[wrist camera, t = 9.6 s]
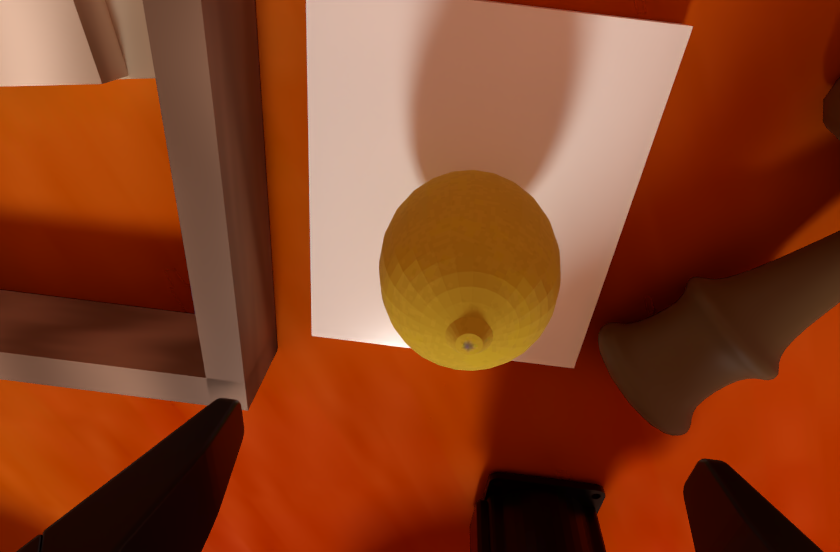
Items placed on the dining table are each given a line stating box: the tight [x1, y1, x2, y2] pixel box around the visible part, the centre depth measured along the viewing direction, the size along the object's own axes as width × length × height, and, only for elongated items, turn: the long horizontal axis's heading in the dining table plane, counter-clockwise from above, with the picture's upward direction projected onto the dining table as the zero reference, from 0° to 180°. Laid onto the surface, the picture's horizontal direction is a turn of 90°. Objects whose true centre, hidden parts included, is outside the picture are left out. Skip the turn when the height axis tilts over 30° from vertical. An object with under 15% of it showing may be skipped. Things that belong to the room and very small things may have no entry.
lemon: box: [379, 170, 561, 371], centre depth 16 cm, size 6×6×8 cm
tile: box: [306, 0, 693, 368], centre depth 19 cm, size 12×14×1 cm
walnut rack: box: [0, 0, 277, 410], centre depth 18 cm, size 18×18×4 cm
